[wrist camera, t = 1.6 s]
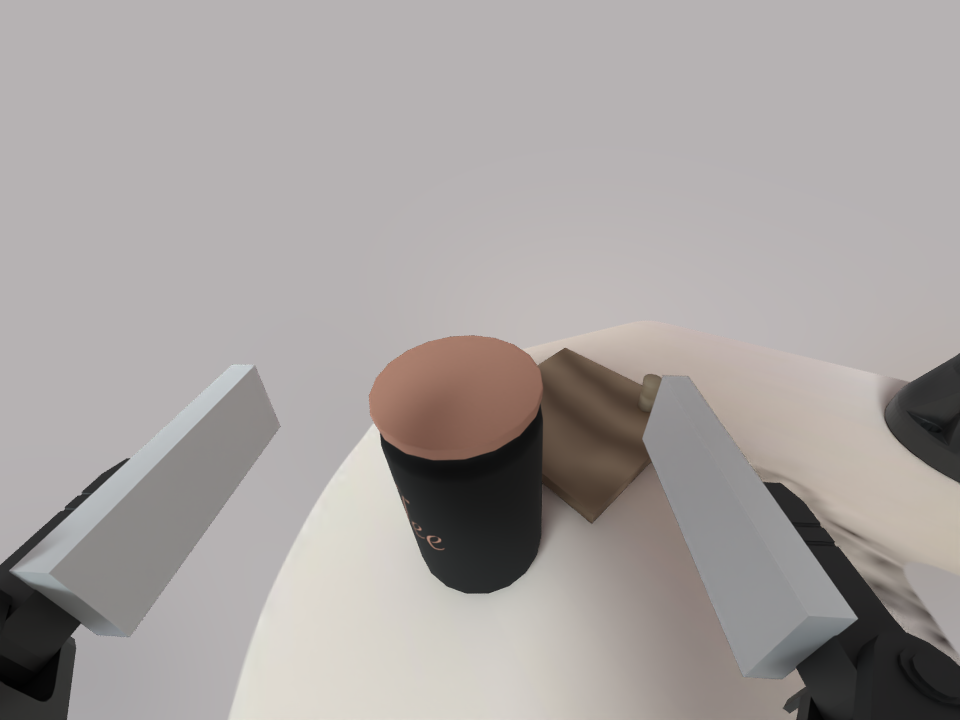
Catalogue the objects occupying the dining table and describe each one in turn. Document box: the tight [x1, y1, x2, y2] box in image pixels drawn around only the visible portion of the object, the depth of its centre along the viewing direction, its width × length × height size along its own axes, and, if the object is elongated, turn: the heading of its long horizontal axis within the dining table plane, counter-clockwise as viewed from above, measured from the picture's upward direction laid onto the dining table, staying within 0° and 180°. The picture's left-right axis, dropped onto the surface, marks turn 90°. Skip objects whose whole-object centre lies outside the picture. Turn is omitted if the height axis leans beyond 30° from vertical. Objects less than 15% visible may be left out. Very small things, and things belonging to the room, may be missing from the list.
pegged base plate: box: [538, 348, 662, 523], centre depth 42 cm, size 18×18×6 cm
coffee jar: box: [369, 336, 543, 594], centre depth 28 cm, size 11×11×18 cm
